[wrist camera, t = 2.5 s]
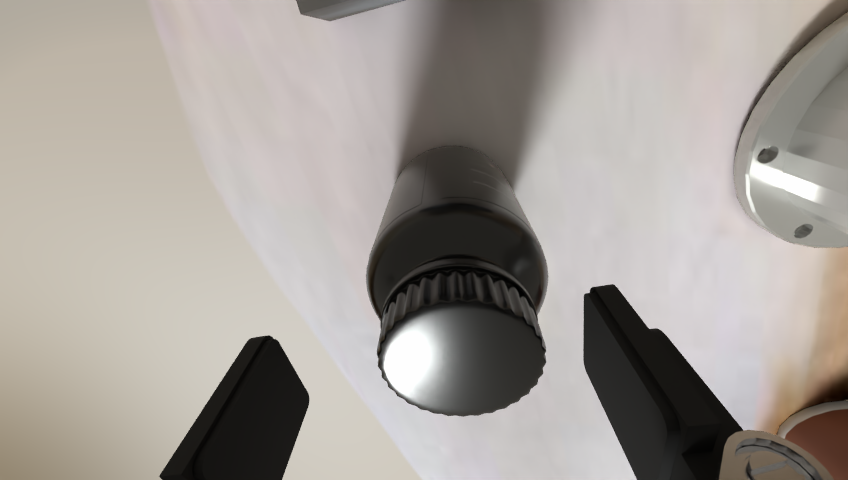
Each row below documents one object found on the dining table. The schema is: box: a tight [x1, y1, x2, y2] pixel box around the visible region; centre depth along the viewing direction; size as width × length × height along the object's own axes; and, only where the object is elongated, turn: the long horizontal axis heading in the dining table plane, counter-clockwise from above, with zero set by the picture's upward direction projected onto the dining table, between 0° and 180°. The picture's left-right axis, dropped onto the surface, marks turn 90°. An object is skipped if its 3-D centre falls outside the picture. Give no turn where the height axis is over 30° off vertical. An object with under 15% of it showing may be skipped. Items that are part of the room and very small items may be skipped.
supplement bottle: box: [366, 146, 548, 416], centre depth 15 cm, size 7×7×12 cm
